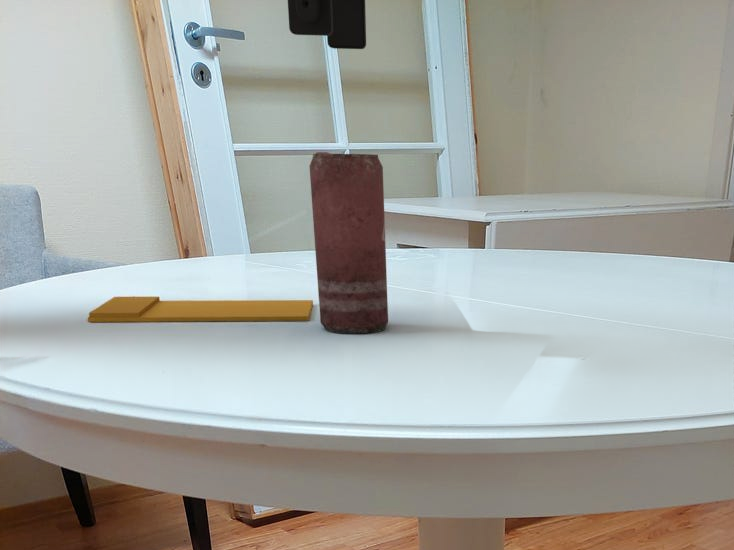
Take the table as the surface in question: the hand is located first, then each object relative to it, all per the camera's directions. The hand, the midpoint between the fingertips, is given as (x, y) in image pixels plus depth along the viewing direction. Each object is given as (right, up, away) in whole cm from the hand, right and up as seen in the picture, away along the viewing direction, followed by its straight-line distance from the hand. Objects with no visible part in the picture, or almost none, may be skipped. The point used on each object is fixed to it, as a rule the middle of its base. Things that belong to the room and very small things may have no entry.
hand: (330, 41), depth 70 cm
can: (0, -19, +11) cm, 22 cm away
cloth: (-15, -15, +17) cm, 27 cm away
